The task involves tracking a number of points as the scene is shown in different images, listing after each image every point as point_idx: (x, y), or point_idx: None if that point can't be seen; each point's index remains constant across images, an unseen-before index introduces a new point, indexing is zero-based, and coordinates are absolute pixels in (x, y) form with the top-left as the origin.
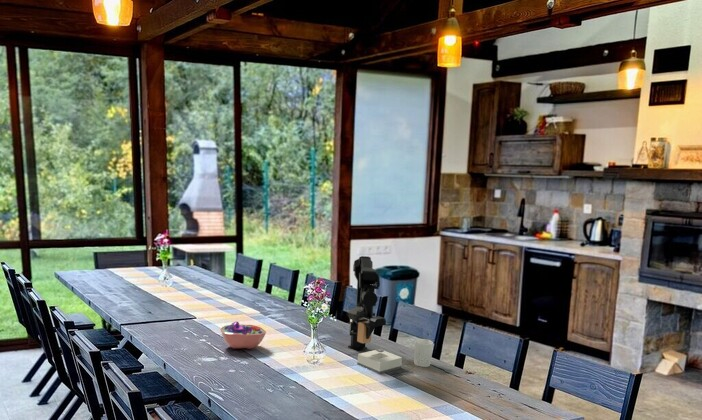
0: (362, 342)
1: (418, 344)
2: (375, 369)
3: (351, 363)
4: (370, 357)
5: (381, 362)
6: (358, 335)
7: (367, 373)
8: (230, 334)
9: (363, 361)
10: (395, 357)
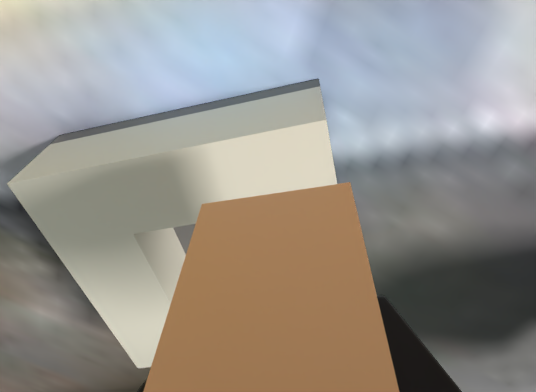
0: (204, 211)
1: None
2: (92, 136)
3: (369, 39)
4: (181, 182)
5: (25, 201)
6: (334, 266)
7: (81, 47)
8: None
9: (237, 115)
10: (146, 340)
